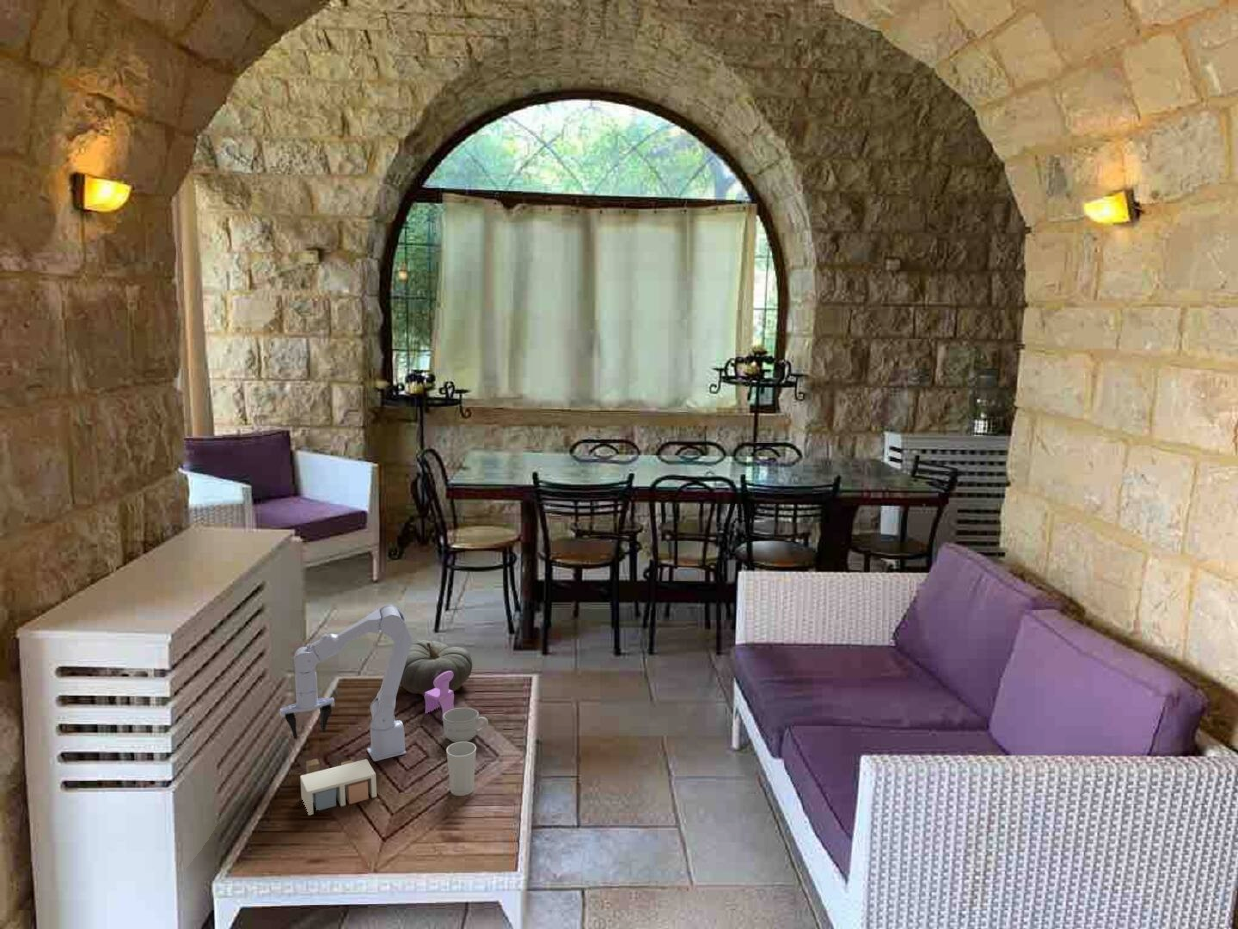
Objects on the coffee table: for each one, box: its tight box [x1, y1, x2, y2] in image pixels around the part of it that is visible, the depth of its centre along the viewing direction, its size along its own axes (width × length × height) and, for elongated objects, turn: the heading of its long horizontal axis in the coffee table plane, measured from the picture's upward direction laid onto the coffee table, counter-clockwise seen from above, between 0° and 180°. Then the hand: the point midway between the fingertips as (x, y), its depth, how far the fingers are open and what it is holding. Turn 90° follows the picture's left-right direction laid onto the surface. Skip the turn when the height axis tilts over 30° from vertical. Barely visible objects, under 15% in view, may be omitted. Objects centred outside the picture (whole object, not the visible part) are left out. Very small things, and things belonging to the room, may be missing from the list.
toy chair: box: [423, 671, 455, 721], centre depth 278 cm, size 8×9×15 cm
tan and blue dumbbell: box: [305, 758, 337, 812], centre depth 232 cm, size 5×17×6 cm, turn 31°
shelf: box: [299, 758, 378, 816], centre depth 230 cm, size 18×9×7 cm, turn 121°
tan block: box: [340, 759, 369, 805], centre depth 234 cm, size 5×12×6 cm, turn 31°
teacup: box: [442, 707, 489, 743], centre depth 262 cm, size 14×11×8 cm
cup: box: [445, 741, 477, 797], centre depth 234 cm, size 8×8×12 cm
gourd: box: [399, 639, 473, 697], centre depth 296 cm, size 25×25×17 cm
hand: (309, 734), depth 245 cm, fingers open, 7 cm apart
